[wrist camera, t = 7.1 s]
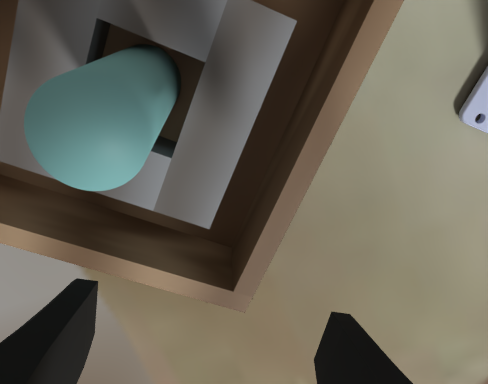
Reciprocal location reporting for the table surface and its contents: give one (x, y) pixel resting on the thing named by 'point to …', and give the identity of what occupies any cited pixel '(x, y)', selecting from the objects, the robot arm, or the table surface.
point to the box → (188, 132)
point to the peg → (102, 117)
